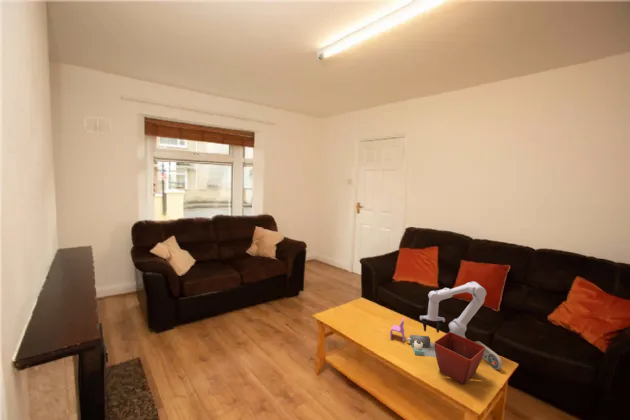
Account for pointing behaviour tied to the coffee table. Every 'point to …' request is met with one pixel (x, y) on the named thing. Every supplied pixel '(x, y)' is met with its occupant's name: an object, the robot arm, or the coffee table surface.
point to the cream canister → (418, 345)
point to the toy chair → (398, 329)
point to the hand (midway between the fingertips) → (431, 331)
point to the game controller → (491, 357)
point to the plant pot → (458, 356)
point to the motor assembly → (427, 347)
